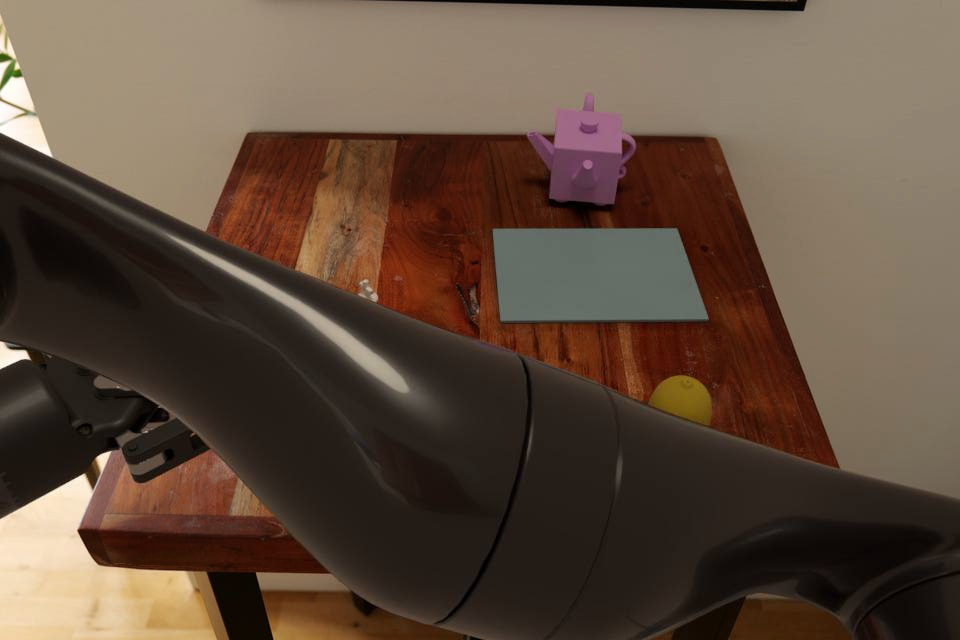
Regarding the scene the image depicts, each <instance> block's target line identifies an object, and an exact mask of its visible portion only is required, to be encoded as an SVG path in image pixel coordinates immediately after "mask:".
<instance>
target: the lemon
mask: <svg viewBox="0 0 960 640" xmlns="http://www.w3.org/2000/svg"><path fill="white" fill-rule="evenodd" d="M647 404H649V405H651V406H654V407H656V408H659V409H661V410H664V411H667V412H669V413H672V414H675V415H678V416H681V417H684V418H687V419H689V420H692V421H695V422H698V423H701V424H704V425H707V426H710V424H711V421H712V417H713V403H712V398H711V395H710V393H709V391H708V388H707V387H706V386H705V384H703V383H702V382H700V381H699V380H698V379H696V378H694V377H691V376H688V375H683V374H682V375H674V376H673V375H672V376H670V377H668V378H666V379H664V380H663V381H661V382H660V383H659V384H657V386H656V387H655V389H654V390H653V392H652V394H651V396H650V398H649V400H648V402H647Z"/></svg>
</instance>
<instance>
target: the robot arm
mask: <svg viewBox="0 0 960 640" xmlns="http://www.w3.org/2000/svg"><path fill="white" fill-rule="evenodd" d="M0 343H5V344H6V343H7V344H9V345H14V346H18V347H20V348H21V347H22V348H25V349H28V350H31V351H35V352H38V353H41V354H42V356H43V359H44V361H45V362H43V363H41V364H37V363H36V362H35V361H34V360H32V359H29V358H23V359H19V360H17V361H14V362H12V363H11V364H8V365H5V366H3V367H1V368H0V520H2V519H4V518H6V517H7V516H9V515H11V514H13V513H14V512H16V511H18V510H21V509H22V508H24V507H26V506H28V505H29V504H31V503H33V502H35V501H36V500H38V499H40V498H42V497H45V496H46V495H48V494H49V493H52V492H53V491H55V490H57V489H58V488H61V487H62V486H63V487H64V486H65V485H67V484H68V483H70V482H72V481H74V480H75V479H77V478H79V477H81V476H83V475H85V474H86V473H88V471H89V470H90V469H91V467H92V464H93V462H94V461H95V460H96V459H97V458H98V457H99V456H100V455H104V454H106V453H109V452H115V451H120V452H121V454H122V456H123V458H124V460H125V463H126V465H127V468H128V470H129V473H130V476H131V478H132V480H133V482H135V483H136V484H146V483H149V482H150V481H152V480H154V479H157V478H158V477H160V476H162V475H164V474H166V473H167V472H170V471H171V470H173V469H175V468H177V467H179V466H181V465H183V464H185V463H187V462H189V461H191V460H193V459H194V458H197V457H199V456H201V455H203V454H204V453H206V452H208V451H210V450H211V451H212V452H213V453H214V454H215V455H216V456H217V457H218V458H219V459H220V460H221V461H222V462H223V463H224V464H225V465H226V466H227V467H228V468H229V469H230V470H231V471H232V472H233V474H234V475H235V476H236V477H237V478H238V479H239V480H240V481H241V482H242V483H243V484H244V486H245V487H246V488H247V489H248V490H249V491H250V492H251V493H252V494H253V495H254V496H255V497H256V499H257V500H258V501H259V502H260V503H261V504H262V505H263V506H264V508H265V509H266V510H267V511H268V512H269V513H270V514H271V515H272V516H273V518H275V520H277V522H278V523H279V524H280V525H281V526H282V527H283V528H284V529H285V530H286V531H287V533H288V534H290V535H291V537H292V538H293V539H294V540H295V541H296V542H297V543H298V544H299V545H300V546H301V547H302V548H303V549H304V550H305V551H306V552H307V553H308V554H309V555H310V556H312V558H313V559H314V560H315V561H316V562H317V563H318V564H319V565H320V566H322V567H323V568H324V569H325V570H326V571H327V572H328V573H329V574H331V575H332V576H333V577H334V579H336V580H337V581H338V582H340V583H341V584H342V585H344V586H345V587H346V588H348V589H349V590H350V591H351V592H353V593H354V594H356V595H357V596H358V597H360V598H362V599H363V600H365V601H366V602H368V603H370V604H371V605H373V606H375V607H376V608H377V607H378V608H380V609H382V610H385V611H386V612H389V613H391V614H394V615H396V616H400V617H403V618H406V619H409V620H411V621H415V622H418V623H421V624H423V625H428V626H433V627H436V628H440V629H444V630H447V631H450V632H455V633H458V634H461V635H465V636H469V637H473V638H476V639H479V640H653V639H656V638H658V637H661V636H663V635H666V634H668V633H669V632H672V631H674V630H676V629H678V628H680V627H682V626H684V625H686V624H688V623H691V622H692V621H694V620H696V619H698V618H701V617H702V616H704V615H706V614H709V613H711V612H713V611H715V610H717V609H719V608H721V607H722V606H724V605H727V604H730V603H732V602H734V601H736V600H739V599H741V598H744V597H749V596H752V595H755V594H766V595H773V596H777V597H783V598H787V599H790V600H795V601H798V602H802V603H806V604H808V605H811V606H813V607H814V608H815V607H816V608H818V609H820V610H822V611H824V612H826V613H827V614H830V615H832V616H833V617H835V618H836V619H837V620H838V621H839V622H840V623H841V624H842V625H843V626H844V628H846V629H847V631H848V632H849V634H850V637H851V640H960V498H959V497H955V496H951V495H947V494H943V493H939V492H936V491H931V490H927V489H922V488H919V487H914V486H910V485H906V484H901V483H897V482H893V481H890V480H885V479H881V478H877V477H873V476H868V475H865V474H861V473H857V472H854V471H849V470H845V469H842V468H839V467H838V468H837V467H834V466H830V465H827V464H824V463H820V462H817V461H814V460H810V459H807V458H804V457H801V456H798V455H795V454H792V453H789V452H786V451H784V450H781V449H778V448H775V447H771V446H769V445H767V444H763V443H761V442H756V441H755V440H751V439H748V438H745V437H741V436H738V435H736V434H733V433H731V432H727V431H724V430H721V429H718V428H715V427H713V426H710V425H709V426H707V425H704V424H701V423H698V422H695V421H692V420H689V419H687V418H684V417H681V416H678V415H675V414H672V413H669V412H667V411H664V410H661V409H659V408H656V407H654V406H651V405H649V404H648V403H646V402H644V401H641V400H639V399H637V398H636V397H635V398H634V397H632V396H630V395H627V394H625V393H623V392H620V391H618V390H615V389H614V388H612V387H609V386H608V385H605V384H602V383H601V382H597V381H594V380H592V379H589V378H588V377H587V378H586V377H584V376H581V375H578V374H576V373H573V372H570V371H568V370H565V369H562V368H560V367H557V366H555V365H551V364H549V363H546V362H543V361H540V360H538V359H535V358H534V357H530V356H527V355H525V354H522V353H519V352H516V351H514V350H512V349H510V348H506V347H504V346H500V345H498V344H497V345H496V344H494V343H491V342H487V341H485V340H481V339H478V338H475V337H472V336H469V335H466V334H463V333H461V332H457V331H454V330H452V329H449V328H445V327H442V326H440V325H436V324H433V323H430V322H429V321H428V322H427V321H425V320H423V319H420V318H417V317H415V316H412V315H409V314H407V313H404V312H402V311H400V310H396V309H394V308H391V307H389V306H386V305H384V304H381V303H378V302H377V303H376V302H374V301H371V300H369V299H367V298H364V297H362V296H359V295H358V294H357V293H355V292H352V291H349V290H347V289H344V288H342V287H339V286H337V285H334V284H332V283H330V282H327V281H324V280H323V279H320V278H317V277H315V276H312V275H310V274H308V273H305V272H303V271H300V270H297V269H295V268H293V267H291V266H287V265H285V264H283V263H280V262H278V261H275V260H273V259H270V258H267V257H265V256H262V255H260V254H258V253H255V252H253V251H251V250H248V249H246V248H244V247H242V246H239V245H236V244H234V243H232V242H230V241H227V240H225V239H222V238H220V237H218V236H216V235H214V234H211V233H209V232H207V231H205V230H203V229H201V228H198V227H197V226H194V225H192V224H189V223H187V222H186V221H183V220H181V219H179V218H177V217H176V216H173V215H171V214H168V213H167V212H164V211H162V210H160V209H159V208H156V207H154V206H152V205H150V204H148V203H146V202H144V201H142V200H140V199H138V198H135V197H134V196H132V195H130V194H128V193H125V192H123V191H121V190H120V189H117V188H116V187H113V186H112V185H109V184H108V183H105V182H103V181H101V180H99V179H97V178H95V177H93V176H92V175H88V174H87V173H85V172H82V171H81V170H79V169H77V168H74V167H72V166H71V165H69V164H66V163H64V162H62V161H60V160H58V159H56V158H54V157H52V156H50V155H48V154H46V153H44V152H42V151H40V150H38V149H36V148H33V147H32V146H30V145H27V144H25V143H24V142H21V141H19V140H17V139H15V138H13V137H10V136H9V135H7V134H5V133H3V132H0Z"/></svg>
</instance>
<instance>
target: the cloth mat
mask: <svg viewBox="0 0 960 640" xmlns="http://www.w3.org/2000/svg"><path fill="white" fill-rule="evenodd" d="M491 229H492V231H491V233H492V243H493V255H494V267H495V281H496V291H497V302H498V303H497V304H498V313H499V314H498V315H499V323H500V324H571V323H572V324H574V323H575V324H577V323H578V324H579V323H581V324H582V323H583V324H585V323H586V324H587V323H591V324H592V323H595V324H596V323H703V322H704V323H707V322H709V320H710V317H709V316H708V313H707V310H706V307H705V304H704V301H703V298H702V295H701V293H700V290H699V287H698V284H697V281H696V278H695V275H694V273H693V270H692V269H693V268H692V267H691V263H690V261H689V258H688V255H687V252H686V249H685V247H684V244H683V242H682V238H681V235H680V232H679V230H678V228H677V227H675V228H674V227H673V228H672V227H669V228H664V227H663V228H662V227H661V228H660V227H659V228H658V227H657V228H656V227H655V228H654V227H653V228H649V227H648V228H645V227H643V228H642V227H641V228H639V227H637V228H636V227H635V228H634V227H633V228H632V227H631V228H630V227H628V228H624V227H623V228H620V227H619V228H612V227H611V228H608V227H607V228H491Z"/></svg>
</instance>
